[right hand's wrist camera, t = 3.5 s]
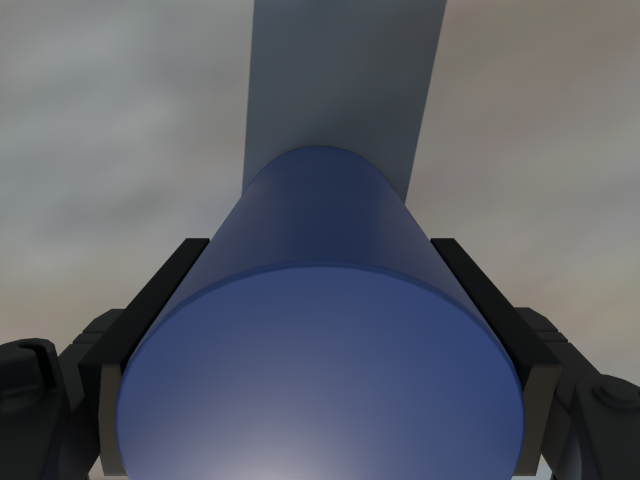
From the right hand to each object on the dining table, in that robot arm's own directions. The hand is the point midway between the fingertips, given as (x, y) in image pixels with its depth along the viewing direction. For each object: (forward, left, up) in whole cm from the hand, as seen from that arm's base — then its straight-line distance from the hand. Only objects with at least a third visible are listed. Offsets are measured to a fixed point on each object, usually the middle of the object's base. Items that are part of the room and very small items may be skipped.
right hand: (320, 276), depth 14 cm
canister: (0, 0, -5) cm, 5 cm away
